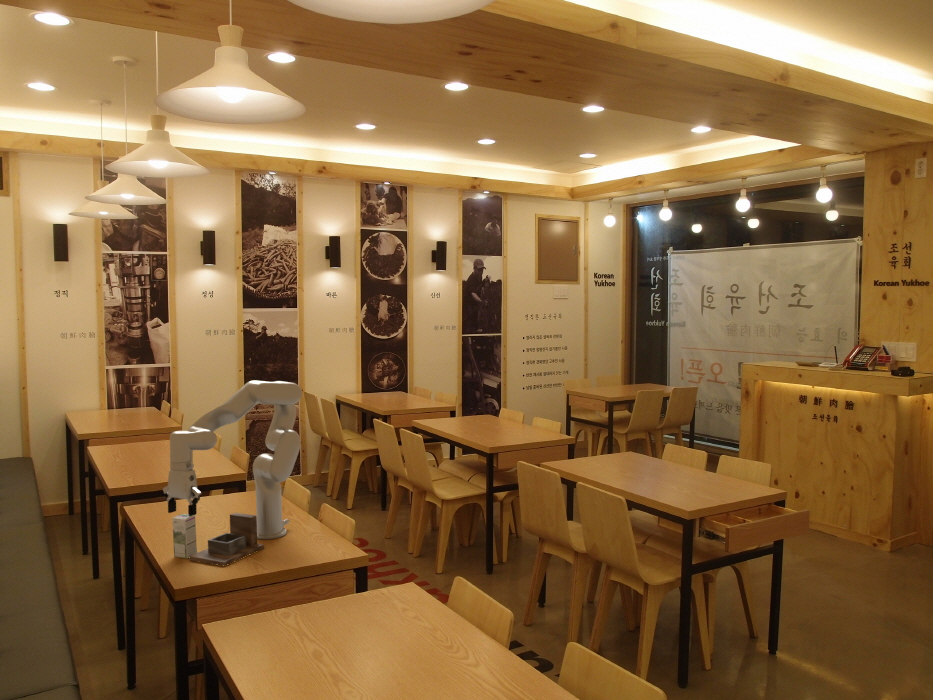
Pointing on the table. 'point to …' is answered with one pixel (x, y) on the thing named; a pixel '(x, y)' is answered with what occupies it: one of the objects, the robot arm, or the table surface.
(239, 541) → the post bracket stand
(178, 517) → the syrup box
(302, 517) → the table surface
